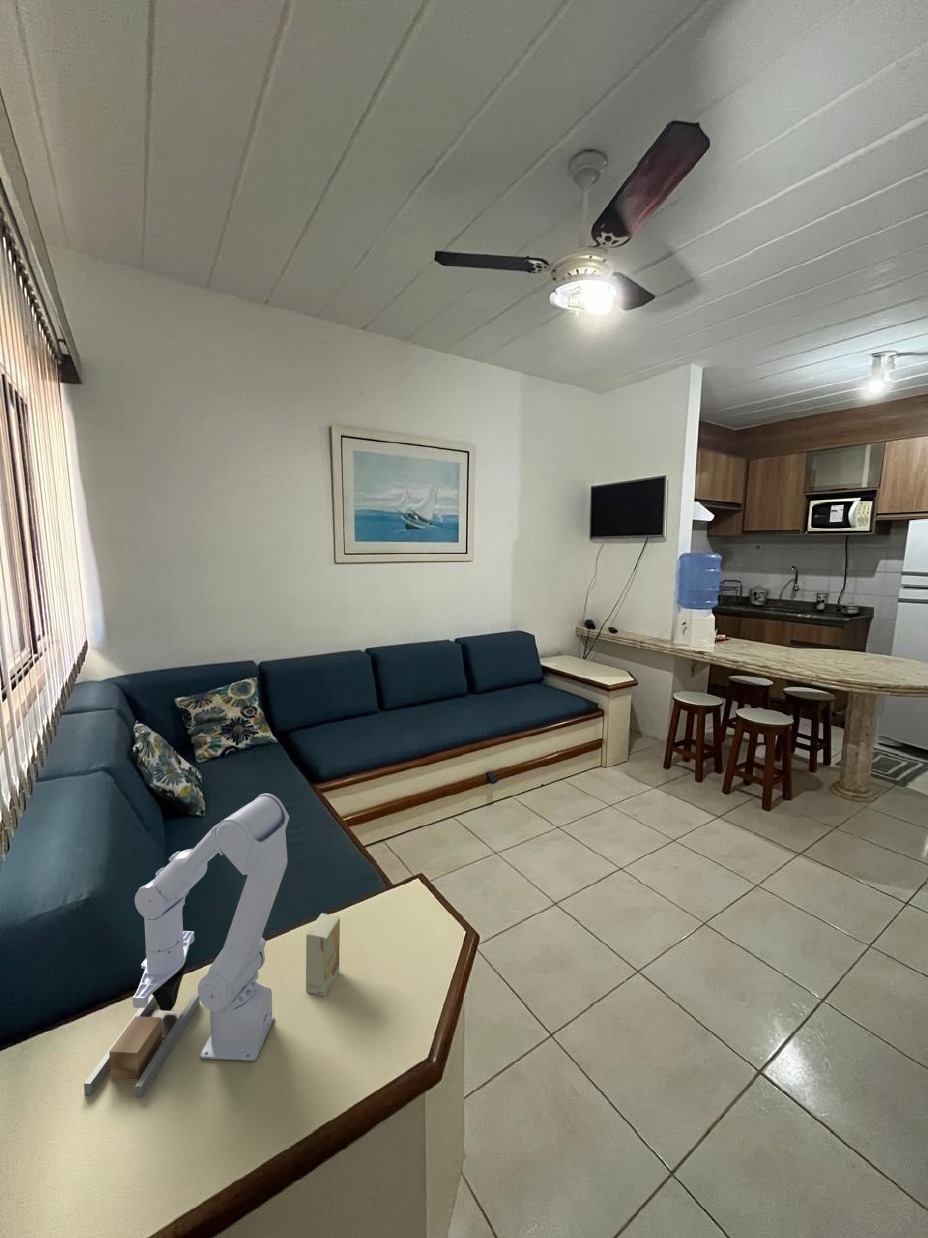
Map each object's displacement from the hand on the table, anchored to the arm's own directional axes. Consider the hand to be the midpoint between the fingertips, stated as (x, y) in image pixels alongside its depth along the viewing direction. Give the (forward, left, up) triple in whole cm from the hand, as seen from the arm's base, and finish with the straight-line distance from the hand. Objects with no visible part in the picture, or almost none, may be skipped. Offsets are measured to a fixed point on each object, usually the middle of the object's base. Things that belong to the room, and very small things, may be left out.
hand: (167, 1007), depth 88 cm
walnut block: (0, +8, -2) cm, 8 cm away
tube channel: (0, +6, -1) cm, 6 cm away
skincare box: (-26, -8, -2) cm, 27 cm away
